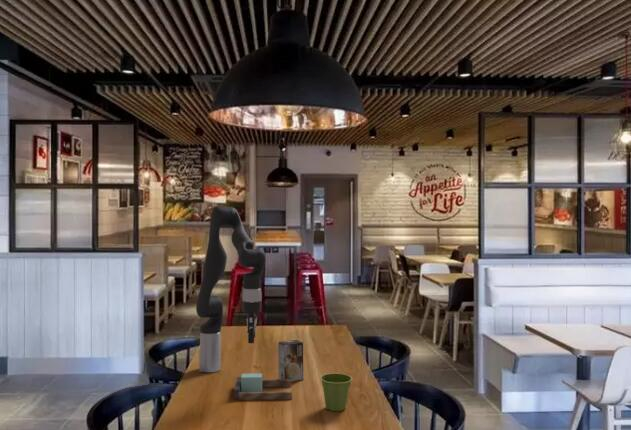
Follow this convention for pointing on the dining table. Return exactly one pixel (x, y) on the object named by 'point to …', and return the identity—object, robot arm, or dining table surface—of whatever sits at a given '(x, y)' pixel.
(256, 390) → the block
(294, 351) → the coffee box
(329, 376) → the plant pot
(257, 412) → the dining table surface
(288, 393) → the channel
